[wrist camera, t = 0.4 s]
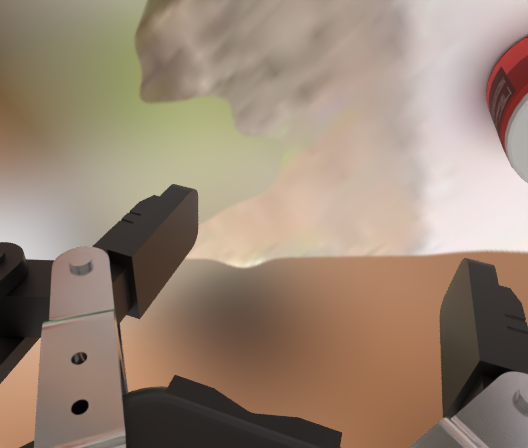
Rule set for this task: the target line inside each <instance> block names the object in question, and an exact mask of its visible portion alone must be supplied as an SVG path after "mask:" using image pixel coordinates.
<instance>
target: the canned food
mask: <svg viewBox="0 0 528 448" xmlns="http://www.w3.org/2000/svg"><path fill="white" fill-rule="evenodd" d="M486 100H487V104H488V109H489V111H490V114H491V117H492V119H493V122H494V125H495V128H496V130H497V133H498V136H499V138H500V141H501V144H502V147H503V149H504V152H505V154H506V156H507V158H508V160H509V162H510V164H511V166H512V168H513V169H514V170H515V171H516V173H517V174H518V175H519V176H520V177H521V178H522V179H523V180H524V181H526V182H527V183H528V37H527V38H525V39H523V40H521V41H520V42H518V43H517V44H516V45H515V46H513V47H512V48H511V49H509V51H508V52H507V53H506V54H505V55H504V56H503V57H502V58H501V59H500V60H499V62H498V63H497V65H496V66H495V68H494V69H493V72H492V74H491V76H490V78H489V81H488V86H487V93H486Z"/></svg>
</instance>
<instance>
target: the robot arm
mask: <svg viewBox="0 0 528 448" xmlns="http://www.w3.org/2000/svg"><path fill="white" fill-rule="evenodd" d="M197 234H198V193H197V190H195V189H191V188H187V187H183V186H179V185H175V184H172V185H171V186H170V187H169V188H168V189H167V190H166V191H165V192H164V193H163V194H162V195H161V196H160V197H159V196H155V195H153V196H151V197H149V198H147V199H145V200H143V201H140V202H139V203H138V204H137V205H136V206H135V207H134V208H133V209H131V210H130V213H127V214H126V215H125V216H124V217H123V218H122V220H121V221H119V222H118V223H117V224H116V225H115V226H114V227H112V229H110V230H109V231H108V232H107V233H106V234H105V235H104V236H103V237H102V238H101V239H100V240H99V241H98V242H97V243H96V244H95V245H93V246H92V247H78V248H74V249H71V250H68V251H66V252H64V253H63V254H61V255H60V256H58V257H57V258H56V260H27V259H26V258H25V255H24V252H23V250H22V248H21V247H20V246H18V245H16V244H13V243H7V242H1V243H0V384H1V382H2V381H3V380H4V379H5V378H6V377H7V375H8V374H9V373H10V372H11V371H12V370H13V368H14V367H15V366H16V365H17V364H18V363H19V361H20V360H21V359H22V358H23V357H24V356H25V354H26V353H27V352H28V351H29V350H30V349H31V347H32V346H33V345H34V344H35V343H36V342H37V340H38V339H39V338H41V348H40V363H39V378H38V393H37V394H38V395H37V407H36V423H35V438H34V441H32V442H30V443H28V444H26V445H24V446H22V447H20V448H341V447H340V443H341V437H342V432H339V431H335V430H333V429H330V428H327V427H324V426H321V425H319V424H316V423H313V422H310V421H307V420H304V419H301V418H298V417H287V416H275V415H265V414H255V413H251V412H249V411H247V410H246V409H244V408H243V407H241V406H239V405H238V404H237V403H235V402H233V401H232V400H231V399H229V398H227V397H226V396H224V395H223V394H221V393H220V392H218V391H217V390H215V389H214V388H211V387H208V386H206V385H203V384H200V383H197V382H194V381H191V380H189V379H186V378H183V377H180V376H177V375H175V376H174V377H173V379H172V381H171V382H170V384H169V386H168V387H149V388H143V389H139V390H135V391H131V392H129V393H128V387H127V379H126V372H125V362H124V353H123V346H122V345H123V344H122V336H121V327H120V322H121V321H122V319H123V318H124V317H125V316H126V315H129V316H132V317H135V318H138V319H140V318H141V317H142V315H143V314H144V313H145V311H146V310H147V309H148V307H149V306H150V305H151V303H152V301H153V300H154V299H155V298H156V296H157V295H158V294H159V292H160V291H161V290H162V288H163V287H164V286H165V284H166V283H167V282H168V280H169V279H170V277H171V276H172V275H173V273H174V272H175V271H176V269H177V268H178V267H179V265H180V264H181V262H182V261H183V260H184V258H185V257H186V256H187V254H188V253H189V252H190V250H191V249H192V247H193V246H194V244H195V241H196V238H197ZM525 320H526V318H525V314H524V310H523V307H522V304H521V302H520V301H519V299H518V298H517V297H516V295H515V294H514V293H513V292H512V290H511V289H510V288H507V287H503V286H500V285H499V284H498V279H497V274H496V269H495V266H494V265H491V264H487V263H483V262H479V261H475V260H471V259H467V258H464V259H463V260H462V262H461V263H460V265H459V267H458V269H457V271H456V273H455V276H454V278H453V280H452V282H451V284H450V286H449V288H448V290H447V292H446V294H445V296H444V299H443V302H442V305H441V310H440V343H441V372H442V373H441V374H442V404H443V419H442V420H441V421H439V422H438V423H437V424H436V425H435V426H434V427H433V428H431V429H430V430H429V431H428V432H427V433H426V434H424V435H423V436H422V437H421V438H420V439H418V440H417V441H416V442H415V443H414V444H413V445H411V446H410V447H409V448H528V326H527V323H526V322H525Z"/></svg>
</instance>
